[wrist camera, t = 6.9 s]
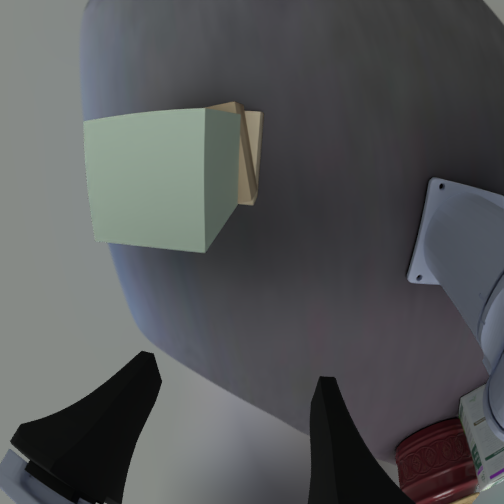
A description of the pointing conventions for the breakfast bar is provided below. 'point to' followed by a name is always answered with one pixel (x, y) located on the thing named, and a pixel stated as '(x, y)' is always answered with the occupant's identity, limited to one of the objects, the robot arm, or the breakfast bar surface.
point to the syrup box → (481, 440)
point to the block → (162, 177)
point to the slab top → (242, 154)
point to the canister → (437, 465)
